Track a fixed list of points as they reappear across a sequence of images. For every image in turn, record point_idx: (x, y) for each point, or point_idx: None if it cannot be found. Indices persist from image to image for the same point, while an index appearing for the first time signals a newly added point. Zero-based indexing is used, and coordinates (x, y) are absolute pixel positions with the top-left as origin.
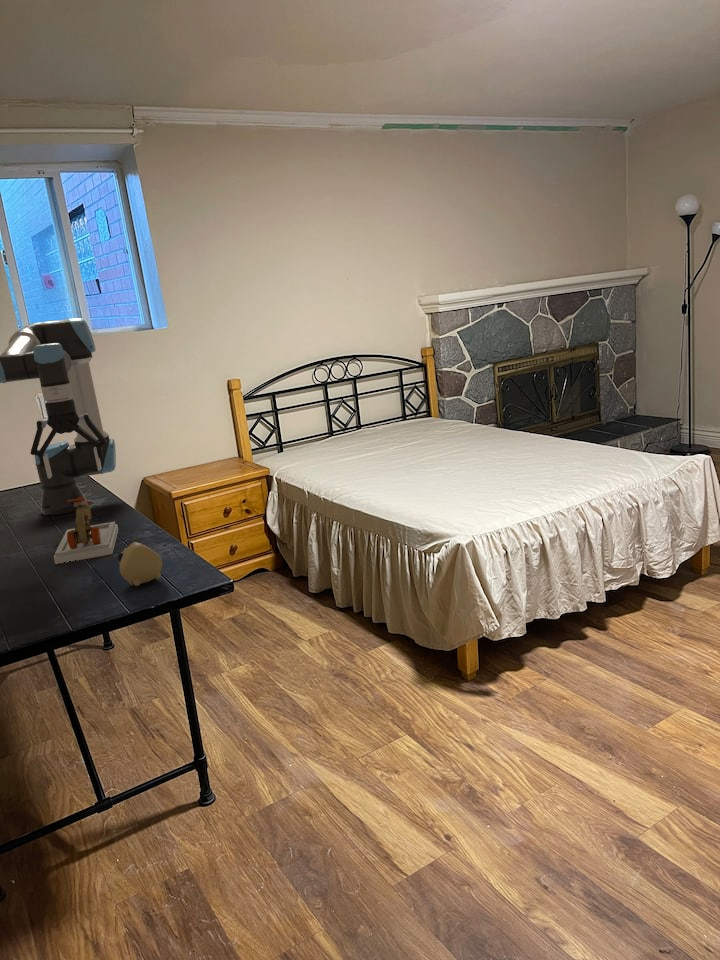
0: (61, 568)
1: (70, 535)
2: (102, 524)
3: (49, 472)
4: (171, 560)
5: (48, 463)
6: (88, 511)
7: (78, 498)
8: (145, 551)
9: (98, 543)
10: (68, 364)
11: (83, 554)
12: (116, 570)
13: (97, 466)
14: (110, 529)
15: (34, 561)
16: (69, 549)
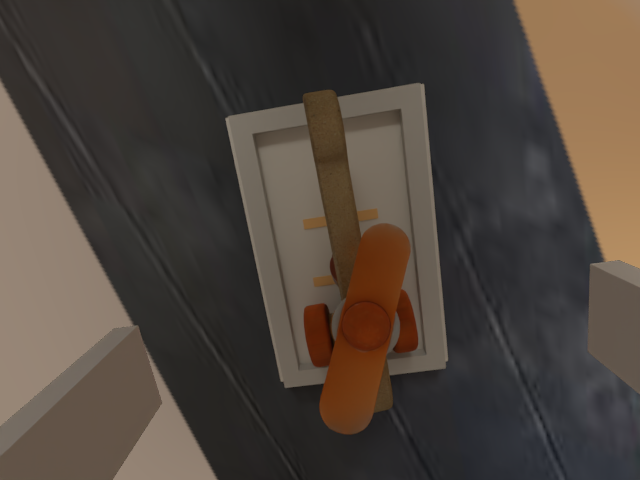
0: (314, 406)
1: (325, 365)
2: (371, 106)
3: (133, 436)
4: (617, 460)
5: (52, 469)
6: (352, 187)
7: (363, 345)
8: None
9: None
10: None
11: None
12: (475, 473)
13: (623, 376)
14: (421, 199)
15: (203, 317)
16: None
